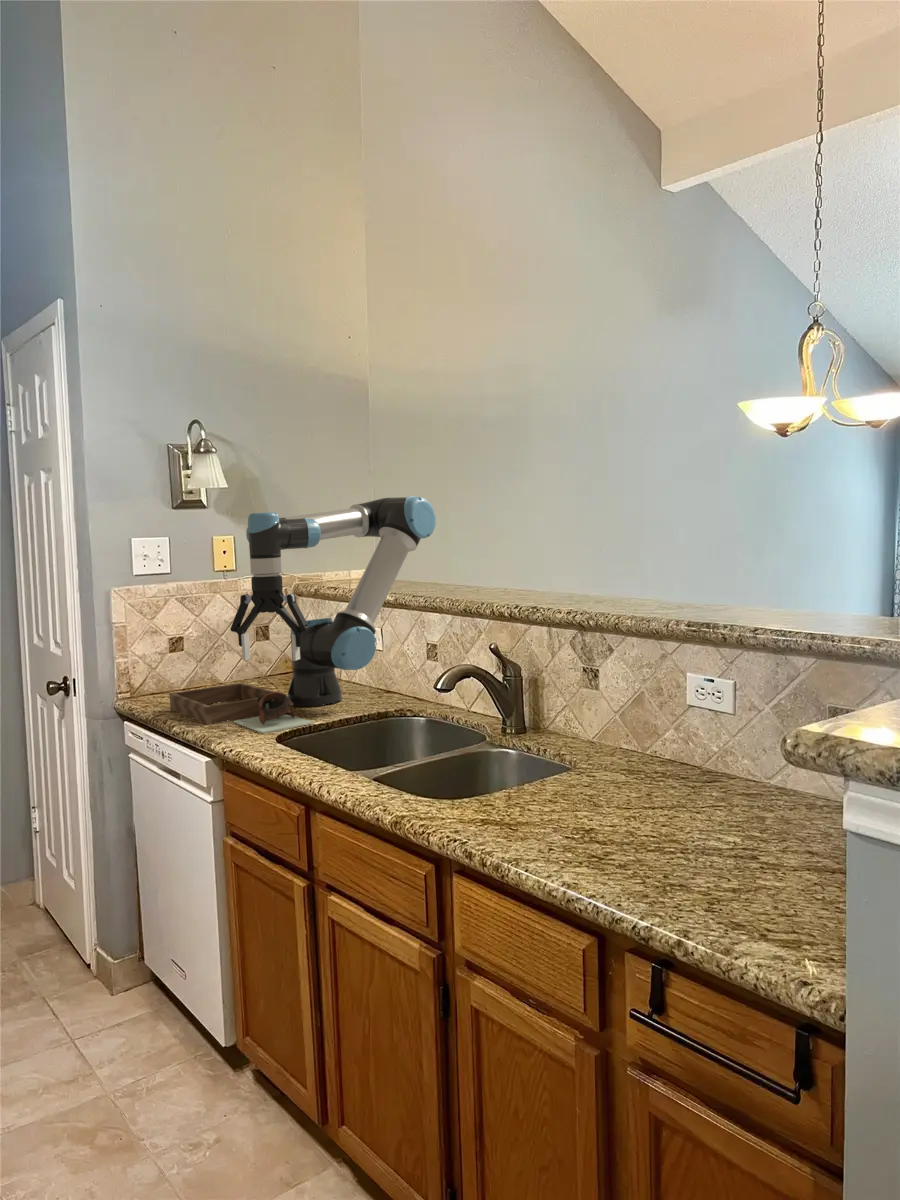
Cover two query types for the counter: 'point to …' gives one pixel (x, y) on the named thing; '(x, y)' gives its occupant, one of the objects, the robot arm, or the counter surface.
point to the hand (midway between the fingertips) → (271, 659)
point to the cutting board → (273, 723)
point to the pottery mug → (274, 706)
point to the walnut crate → (196, 699)
